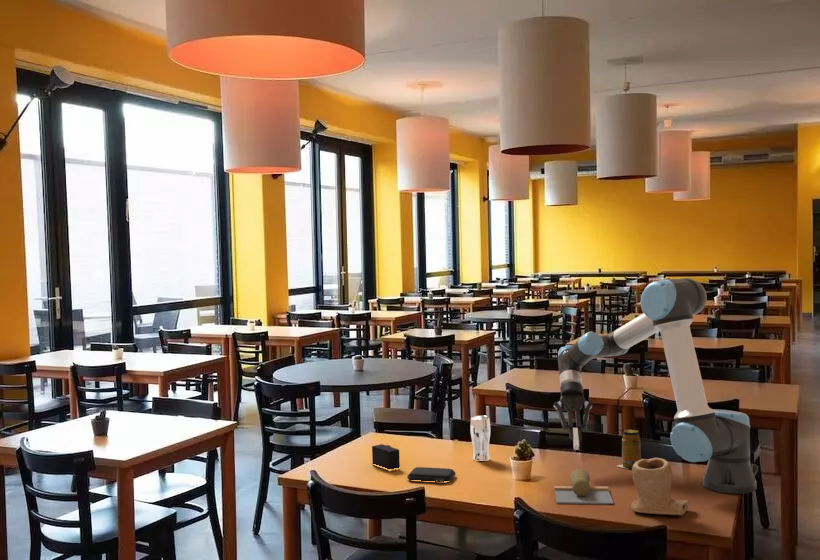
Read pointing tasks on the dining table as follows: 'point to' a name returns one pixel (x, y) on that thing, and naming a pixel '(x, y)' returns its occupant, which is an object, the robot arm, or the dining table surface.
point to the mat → (593, 497)
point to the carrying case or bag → (431, 474)
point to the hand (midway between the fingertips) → (576, 447)
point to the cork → (580, 482)
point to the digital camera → (385, 456)
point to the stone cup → (655, 488)
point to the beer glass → (480, 437)
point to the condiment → (630, 448)
